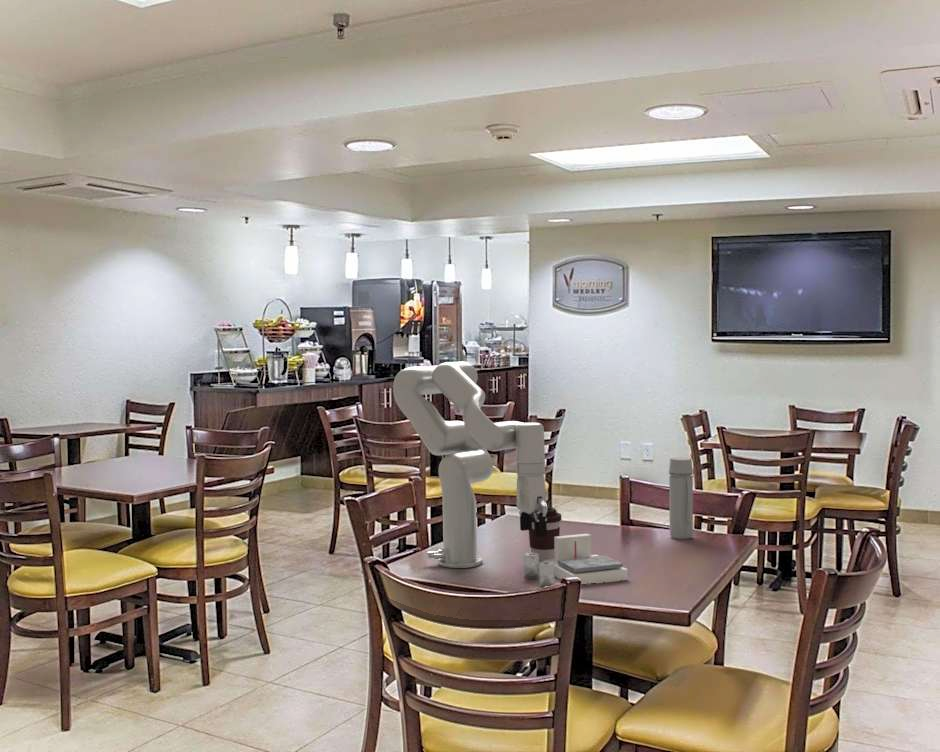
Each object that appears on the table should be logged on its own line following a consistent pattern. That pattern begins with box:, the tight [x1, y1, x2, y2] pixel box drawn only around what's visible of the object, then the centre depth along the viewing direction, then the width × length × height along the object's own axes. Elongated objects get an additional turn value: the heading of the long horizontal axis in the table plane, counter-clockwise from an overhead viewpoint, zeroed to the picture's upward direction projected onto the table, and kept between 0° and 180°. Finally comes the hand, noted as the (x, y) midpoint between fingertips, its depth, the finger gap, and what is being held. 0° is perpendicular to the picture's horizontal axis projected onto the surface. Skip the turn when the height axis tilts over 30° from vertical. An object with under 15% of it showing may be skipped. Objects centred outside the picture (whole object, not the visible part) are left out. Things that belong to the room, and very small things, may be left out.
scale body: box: [544, 533, 629, 585], centre depth 244 cm, size 16×18×9 cm
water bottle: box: [668, 456, 695, 540], centre depth 286 cm, size 9×8×25 cm
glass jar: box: [523, 552, 539, 580], centre depth 243 cm, size 4×4×6 cm
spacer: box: [538, 561, 556, 588], centre depth 234 cm, size 4×4×6 cm
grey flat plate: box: [558, 554, 623, 573], centre depth 242 cm, size 14×10×1 cm
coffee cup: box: [528, 506, 563, 563], centre depth 259 cm, size 10×10×15 cm
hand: (533, 533), depth 242 cm, fingers open, 9 cm apart
